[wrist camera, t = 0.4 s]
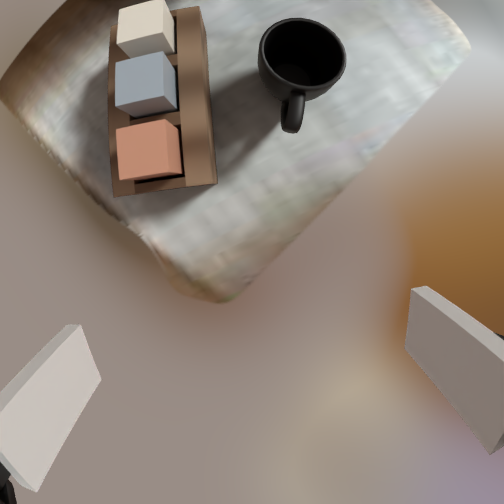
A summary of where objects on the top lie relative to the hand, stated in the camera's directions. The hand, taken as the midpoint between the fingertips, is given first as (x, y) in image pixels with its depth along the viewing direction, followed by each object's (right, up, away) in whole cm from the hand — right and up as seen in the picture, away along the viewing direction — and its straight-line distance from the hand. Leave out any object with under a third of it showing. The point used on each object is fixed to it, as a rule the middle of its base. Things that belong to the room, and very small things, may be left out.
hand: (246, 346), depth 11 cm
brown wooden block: (-10, +21, +21) cm, 31 cm away
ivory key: (-10, +26, +15) cm, 32 cm away
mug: (+4, +22, +22) cm, 31 cm away
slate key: (-9, +20, +17) cm, 28 cm away
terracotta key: (-9, +13, +18) cm, 24 cm away
